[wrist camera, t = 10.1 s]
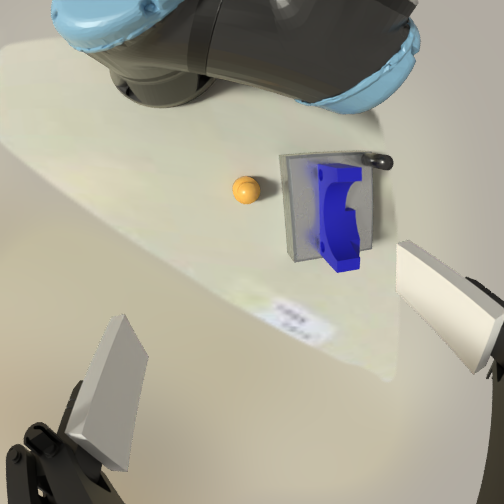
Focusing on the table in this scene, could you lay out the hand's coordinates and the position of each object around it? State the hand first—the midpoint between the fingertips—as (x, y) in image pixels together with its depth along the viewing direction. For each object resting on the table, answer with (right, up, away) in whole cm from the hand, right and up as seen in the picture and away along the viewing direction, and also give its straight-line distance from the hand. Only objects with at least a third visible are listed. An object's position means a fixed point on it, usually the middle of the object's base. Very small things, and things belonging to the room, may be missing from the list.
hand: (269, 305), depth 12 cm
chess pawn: (-2, +11, +25) cm, 27 cm away
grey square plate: (+9, +10, +27) cm, 30 cm away
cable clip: (+10, +8, +23) cm, 27 cm away
